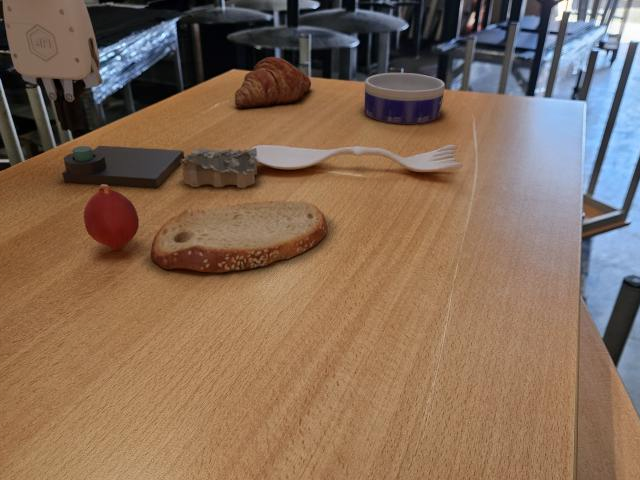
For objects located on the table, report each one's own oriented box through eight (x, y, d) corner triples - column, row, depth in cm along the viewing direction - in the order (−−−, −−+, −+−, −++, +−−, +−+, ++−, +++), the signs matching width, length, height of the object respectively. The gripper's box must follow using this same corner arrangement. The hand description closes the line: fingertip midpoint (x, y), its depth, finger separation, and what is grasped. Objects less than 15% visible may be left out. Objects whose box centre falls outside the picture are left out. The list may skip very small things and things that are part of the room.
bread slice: (335, 220, 74) (336, 193, 72) (288, 292, 60) (287, 260, 58) (208, 202, 78) (205, 176, 76) (137, 265, 64) (130, 235, 62)
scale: (61, 182, 83) (56, 162, 81) (99, 154, 93) (95, 135, 91) (156, 188, 81) (153, 168, 80) (184, 159, 91) (182, 140, 89)
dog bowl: (374, 99, 121) (376, 69, 118) (446, 107, 118) (450, 75, 114) (354, 119, 110) (356, 86, 106) (434, 128, 106) (438, 94, 102)
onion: (91, 241, 68) (74, 177, 64) (140, 234, 70) (128, 171, 65) (93, 264, 64) (76, 197, 59) (146, 256, 66) (133, 190, 61)
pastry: (310, 110, 114) (310, 67, 110) (233, 109, 114) (230, 66, 109) (311, 89, 128) (311, 50, 123) (242, 88, 128) (239, 49, 123)
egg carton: (179, 187, 82) (175, 159, 80) (192, 168, 88) (188, 142, 86) (253, 189, 81) (251, 161, 79) (261, 170, 88) (259, 143, 85)
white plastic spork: (460, 185, 84) (464, 162, 82) (245, 175, 86) (244, 153, 84) (454, 163, 91) (457, 141, 89) (256, 155, 93) (254, 133, 91)
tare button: (71, 162, 82) (69, 151, 81) (80, 155, 84) (77, 145, 83) (88, 163, 82) (86, 152, 81) (97, 156, 84) (94, 146, 83)
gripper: (-38, -25, 67) (7, 132, 78) (84, -18, 66) (112, 140, 77) (-1, -30, 73) (36, 116, 84) (111, -24, 72) (134, 124, 83)
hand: (72, 127), depth 80 cm, fingers closed
